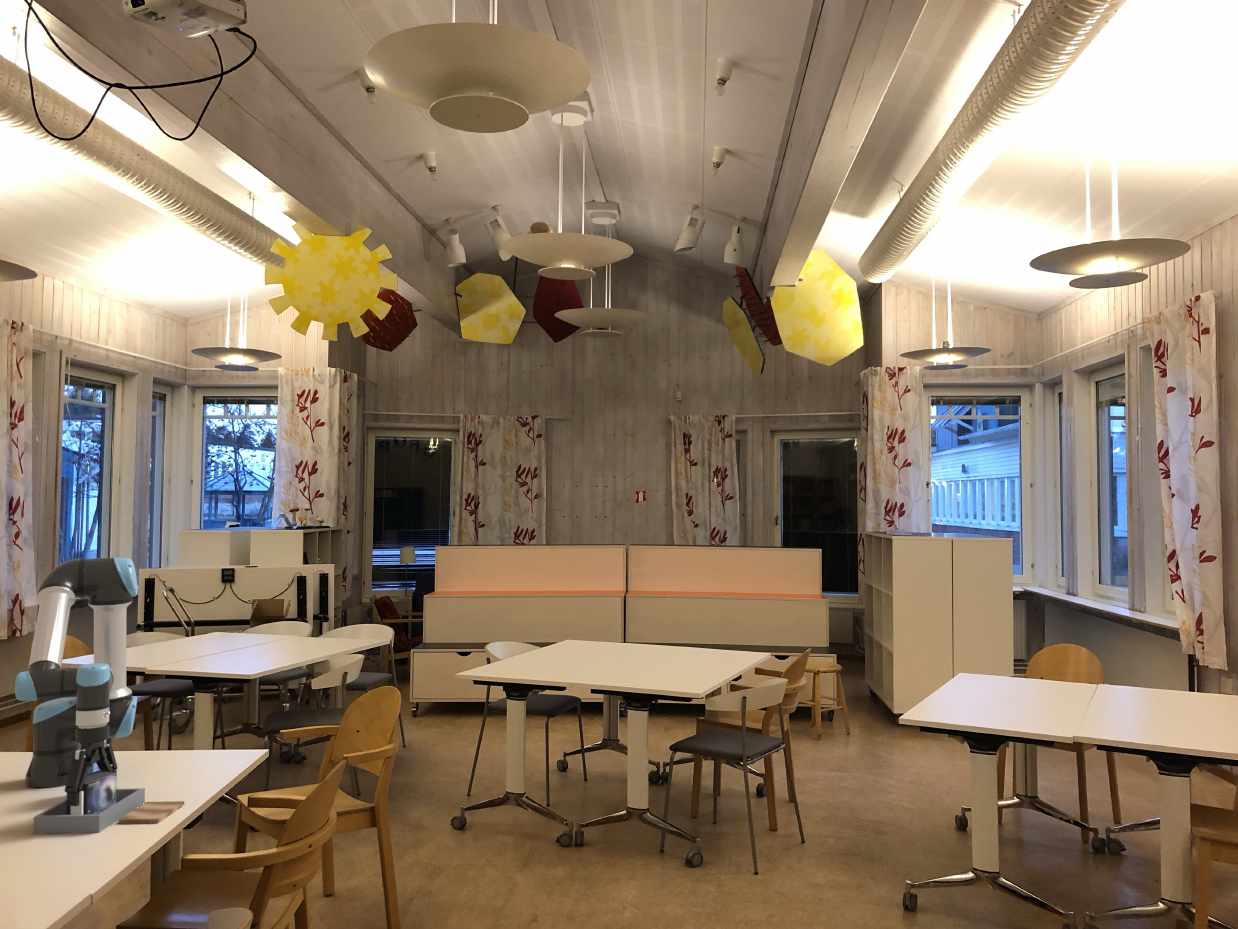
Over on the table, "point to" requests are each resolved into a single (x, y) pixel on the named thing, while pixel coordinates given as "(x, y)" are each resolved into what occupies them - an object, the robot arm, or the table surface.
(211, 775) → the table surface
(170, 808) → the board
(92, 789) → the small box
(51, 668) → the robot arm
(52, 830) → the bin
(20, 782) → the table surface
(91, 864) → the table surface
